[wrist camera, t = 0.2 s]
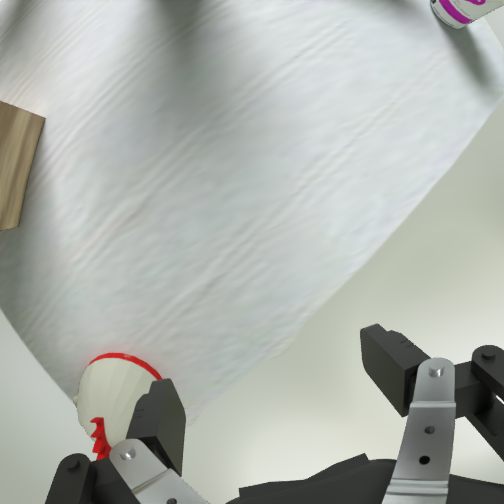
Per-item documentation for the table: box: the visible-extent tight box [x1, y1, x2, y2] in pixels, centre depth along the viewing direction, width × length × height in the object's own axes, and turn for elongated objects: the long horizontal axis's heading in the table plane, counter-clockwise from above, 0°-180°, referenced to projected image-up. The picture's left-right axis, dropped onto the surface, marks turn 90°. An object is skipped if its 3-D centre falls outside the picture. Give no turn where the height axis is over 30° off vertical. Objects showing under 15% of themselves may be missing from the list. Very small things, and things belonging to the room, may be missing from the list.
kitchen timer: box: [73, 353, 162, 460], centre depth 35 cm, size 14×14×15 cm
